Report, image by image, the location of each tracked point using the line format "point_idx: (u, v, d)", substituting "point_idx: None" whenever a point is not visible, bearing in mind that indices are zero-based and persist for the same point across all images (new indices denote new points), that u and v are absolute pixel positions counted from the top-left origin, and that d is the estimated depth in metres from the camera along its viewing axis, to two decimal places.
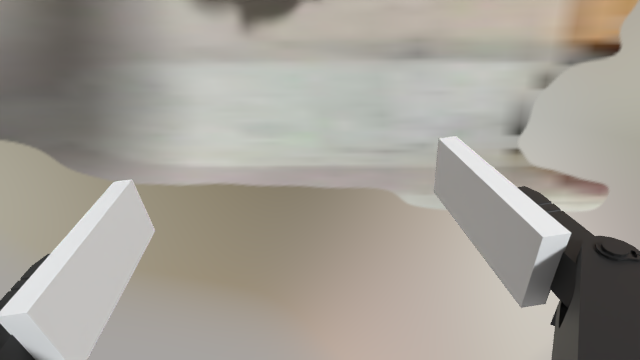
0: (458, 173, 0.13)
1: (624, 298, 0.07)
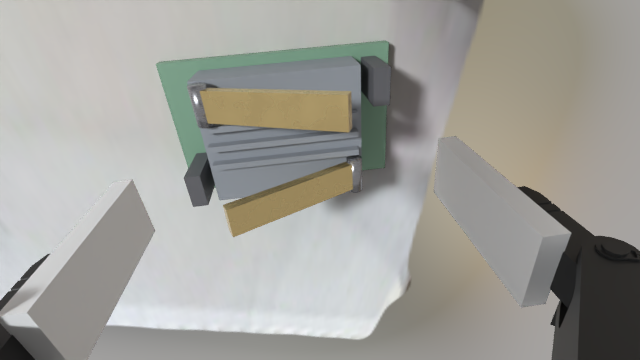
0: (458, 173, 0.13)
1: (624, 298, 0.07)
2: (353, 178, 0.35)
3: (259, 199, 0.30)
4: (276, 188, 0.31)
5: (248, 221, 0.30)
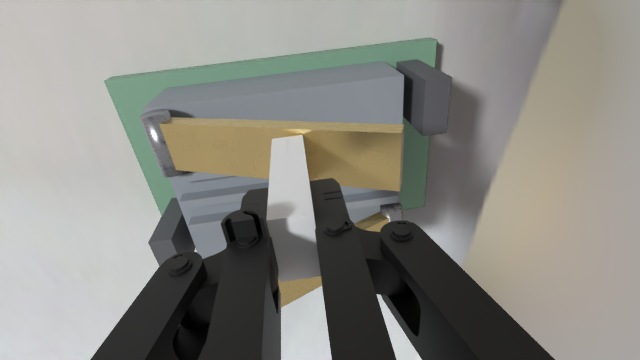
0: None
1: (348, 264, 0.08)
2: None
3: None
4: None
5: None
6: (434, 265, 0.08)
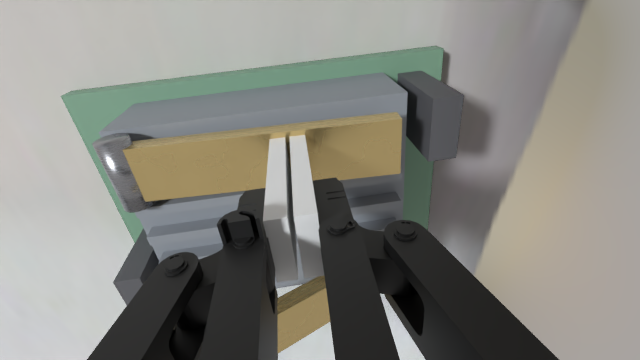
0: None
1: (352, 263, 0.08)
2: None
3: None
4: None
5: None
6: (438, 265, 0.08)
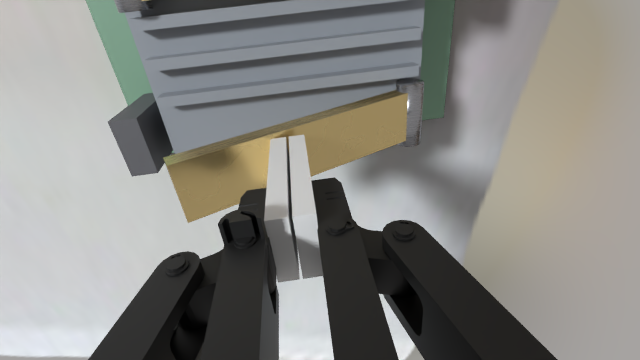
0: None
1: (350, 263, 0.09)
2: (408, 119, 0.20)
3: (238, 147, 0.15)
4: (271, 128, 0.16)
5: (217, 191, 0.15)
6: (437, 265, 0.08)
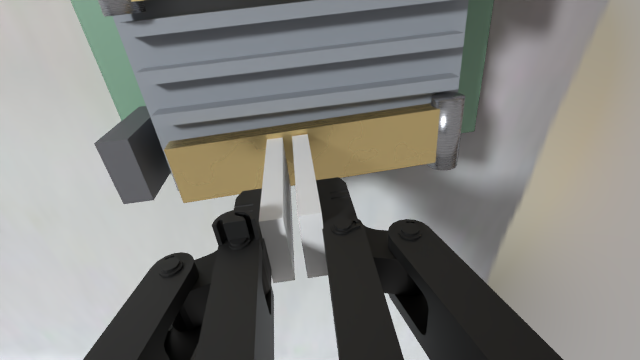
0: None
1: (356, 263, 0.08)
2: (439, 139, 0.17)
3: (231, 142, 0.16)
4: (272, 128, 0.16)
5: (210, 180, 0.16)
6: (442, 264, 0.08)
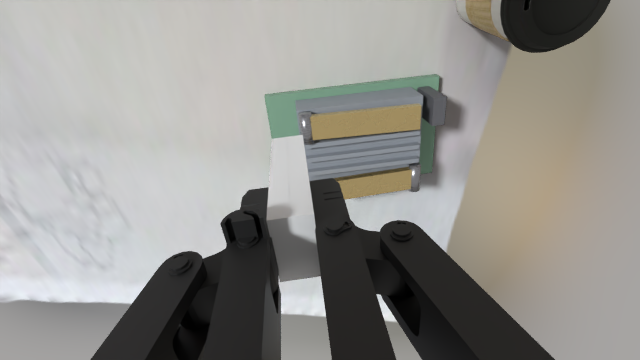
0: None
1: (348, 263, 0.08)
2: (411, 180, 0.45)
3: None
4: (350, 176, 0.45)
5: None
6: (434, 265, 0.08)
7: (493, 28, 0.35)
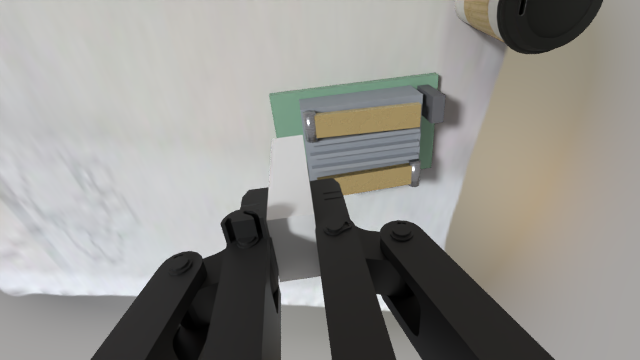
0: None
1: (348, 263, 0.08)
2: (412, 176, 0.47)
3: (340, 178, 0.46)
4: (352, 173, 0.46)
5: None
6: (434, 265, 0.08)
7: (490, 30, 0.36)
